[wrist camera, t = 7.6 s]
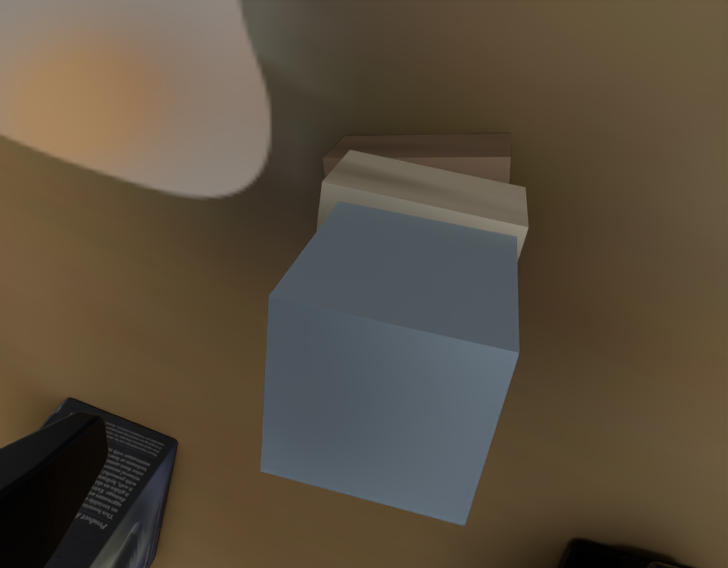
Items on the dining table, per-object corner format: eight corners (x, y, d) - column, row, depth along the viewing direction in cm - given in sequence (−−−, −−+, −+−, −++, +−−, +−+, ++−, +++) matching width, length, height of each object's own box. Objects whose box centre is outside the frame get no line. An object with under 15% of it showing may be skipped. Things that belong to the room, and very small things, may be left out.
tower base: (503, 281, 21) (502, 324, 19) (358, 275, 23) (338, 315, 20) (510, 131, 19) (510, 156, 16) (346, 133, 20) (322, 158, 18)
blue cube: (476, 380, 16) (464, 525, 12) (323, 344, 17) (260, 471, 13) (516, 236, 14) (519, 353, 10) (339, 201, 15) (268, 296, 10)
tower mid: (480, 334, 19) (476, 391, 17) (329, 297, 20) (302, 347, 17) (525, 187, 17) (528, 227, 14) (349, 149, 17) (321, 181, 15)
